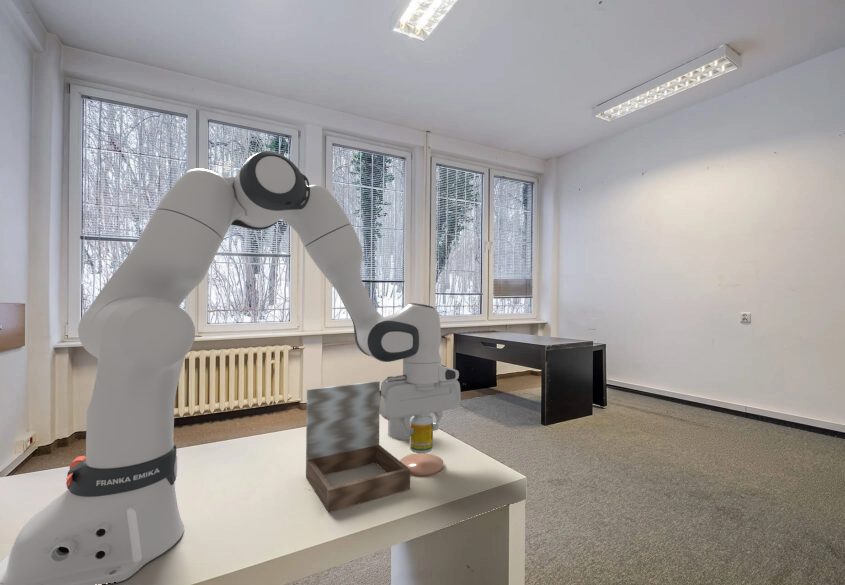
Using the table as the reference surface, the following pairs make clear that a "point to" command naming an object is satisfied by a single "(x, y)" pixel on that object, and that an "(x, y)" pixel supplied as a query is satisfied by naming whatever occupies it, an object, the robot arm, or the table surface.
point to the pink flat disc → (423, 464)
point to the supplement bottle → (422, 433)
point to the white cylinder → (397, 429)
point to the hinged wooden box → (349, 445)
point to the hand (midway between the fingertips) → (421, 432)
